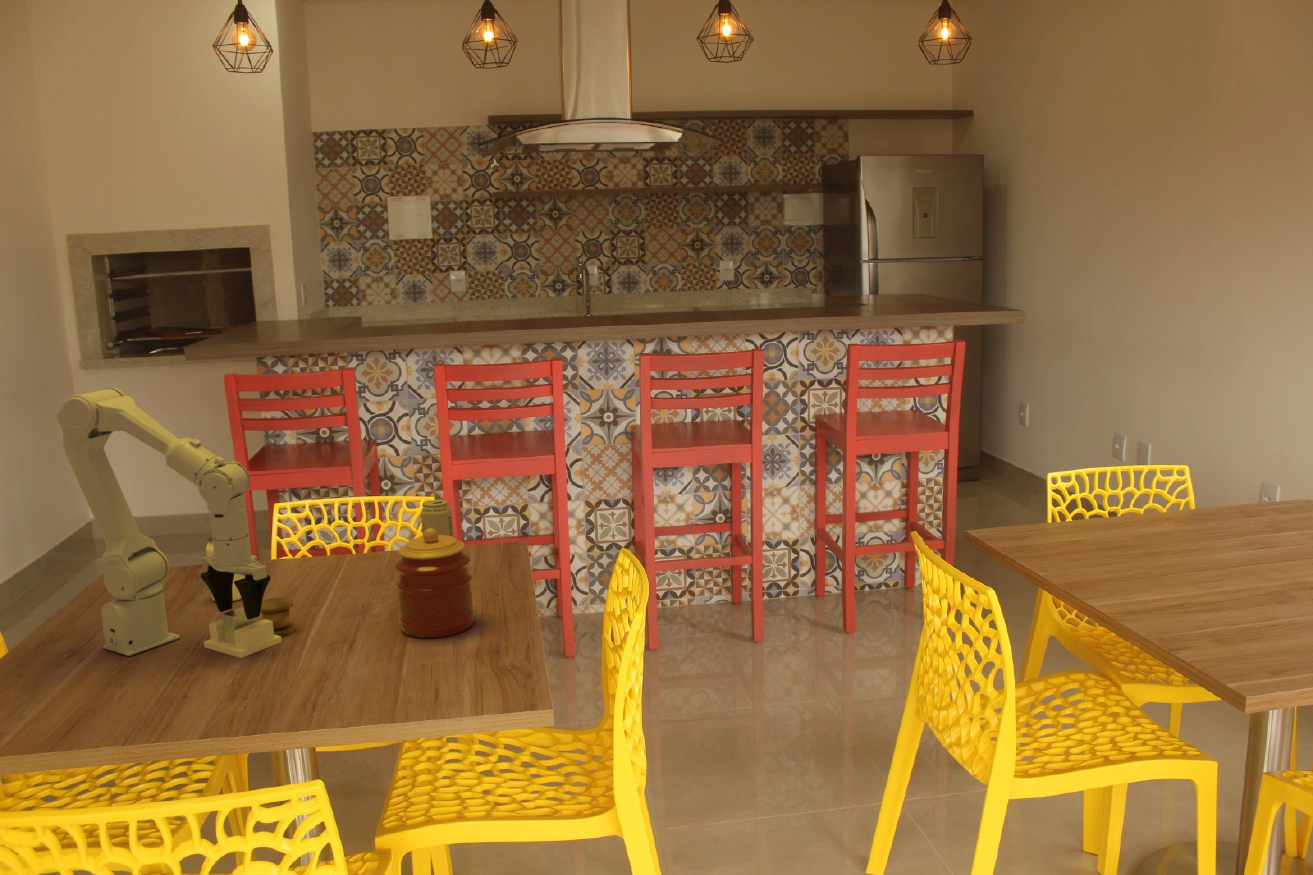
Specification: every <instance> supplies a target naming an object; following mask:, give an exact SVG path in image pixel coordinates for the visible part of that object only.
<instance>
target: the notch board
mask: <svg viewBox="0 0 1313 875" xmlns="http://www.w3.org/2000/svg"><path fill="white" fill-rule="evenodd" d="M208 626H209V637H210V639H208V640H205V641H203V645H204V648H205V649H209V650H212V651H216V652H219V653H222V654H225V655H228V656H229V655H230V656H232V657H236V658H239V659H242V658H245V657H247V656H250V655H252V654H255V653H258V652H260V651H262V650H265V649H268V648H270V647H272V646H275V645H278V644H281V643H282V637H281V636H277V635H274V630H273V621H270V620H266V619H264V620H262V619H261V620H258V622H256V623H254V624H251V625H248V626H245V627H243V628H240V629H237V630H234V632H235V641H236V645H234V644H230V643H227V642H225V634H224V626H223V618H220V619H217V620H216V621H213V622H209V623H208Z"/></svg>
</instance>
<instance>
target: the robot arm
mask: <svg viewBox="0 0 1313 875" xmlns="http://www.w3.org/2000/svg"><path fill="white" fill-rule="evenodd" d="M55 417H56V419H57V421H58V423H59V426H60V428H61V431H62V441H63V443H62V444H63V450H64V453H65V455H66V457H67V460H68V461H69V464H70V466H71V469H72V471H73V473H74V476H75V477H76V479H77V482H78V484H79V486H80V489H81V491H82V494H83V496H84V498H85V500H86V503H87V505H88V508H89V509H90V512H91V514H92V516H93V518H94V521H95V524H97V525H96V526H97V527H98V530H99V532H100V534H101V537H102V539H103V542H104V543H105V545H106V547H105V550H104V552H103V554H102V556H101V558H100V566H101V567H102V571H103V583H104V586H105V588H106V590H107V591H108V593H110V595H111V596H113V598H114V599H112V600H111V601H109V602H106V603H104V605H103V606H102V607H101V613H100V614H101V616H100V617H101V622H102V628H103V636H104V645H102V646H103V649H105V650H109V651H112V652H115V653H118V654H120V655H121V654H122V655H123V656H124V655H125V656H127V657H129V656H134V655H135V654H139V653H141V652H144V651H146V650H147V651H148V650H150V649H153V648H155V647H159V646H161V645H165V644H166V643H170V642H172V641H175V640H178V639H180V638H181V637H180V635H179V634H176V633H172V632H170V631H169V629H168V628H169V626H168V620H167V619H168V618H167V613H166V612H167V610H166V604H165V596H164V590H163V588H164V586H165V582H164V580H166V578H167V577H168V576H169V574H170V573H169V572H170V563H169V560H168V558H167V556H166V555H165V553H164V552H162V551H161V550H160V549H159V547H158V546H157V545H156V542H155V540H154V539H153V538H151V537H149V536H147V535H145V534H143V533H141V531H140V529H139V527H138V525H137V523H136V520H135V518H134V516H133V513H132V511H131V508H130V506H129V503H128V501H127V499H126V496H125V495H124V492H123V490H122V487H121V486H120V484H119V481H118V479H117V477H116V474H115V472H114V469H113V468H112V465H111V463H110V461H109V459H108V456H107V454H106V452H105V447H106V444H107V442H108V440H109V438H110V436H111V435H112V434H113V433H114V432H125V433H127V434H128V435H130V436H132V437H134V439H137V440H138V441H140V442H142V443H143V444H145V445H147V446H149V447H150V448H152V449H154V450H155V451H157V452H159V453H160V454H162V455H163V456H164V457H165V458H164V459H165V463H166V464H165V465H166V466H168V467H169V468H171V469H172V470H173V471H174V472H176V473H177V474H179V475H181V476H182V477H183V478H185V479H186V480H188V481H189V482H191V483H192V484H194V485H196V487H197V490H198V492H199V495H200V496H201V498H202V499H203V500H204V501H205V503H206V505H207V511H209V519H210V528H211V537H212V539H213V548H214V555H209V556H207V555H206V556H203V557H202V563H203V564H202V566H203V569H207V570H206V571H205V572H202V573H200V578H201V579H202V581H203V582H204V583H205V585H206V587H208V589H209V591H210V594H211V593H212V595H213V597H214V600H215V601H214V600H213V601H214V603H215V605H216V606H217V609H218V612H219V613H225V612H226V611H227V612H228V611H229V610H230V611H231V610H233V605H234V604H233V596H232V586H233V578H234V574H240V575H244V576H245V578H243V579H240V580H237V581H234V584H235V586H236V587H237V589H238V591H239V593H240V595H241V598H242V599H241V601H242V605H243V606H242V607H244V611H245V615H246V618H247V619H249V620H251V619H253V618H256V617H257V618H258V617H260V616H261V612H260V611H261V605H262V601H264V600H263V599H264V595H265V591H266V589H267V587H268V585H269V582H270V581H271V575H270V574H267V566H266V565H264V564H261V563H259V562H258V555H257V556H256V555H253V554H252V548H251V542H250V532H249V531H250V530H249V522H248V520H249V519H248V512H247V503H246V502H247V501H246V494H245V493H246V492H247V491H248V490H249V487H250V485H251V476H250V474H249V472H248V470H247V469H246V468H245V467H244V466H243V465H242V463H240V462H238V461H225V459H224V458H223V457H222V456H218V455H217V454H214V453H213V452H211V451H210V450H209V449H207V448H205V447H204V446H202V441H200V440H199V439H197V438H190V437H185V438H184V437H183V438H178V437H177V436H176V435H174V434H173V433H171V432H170V430H168V429H167V428H166V427H164V426H163V425H162V424H161V423H159V422H157V420H155V419H154V418H152V417H151V416H150V415H148V413H146V412H145V411H144V410H143V409H141V408H140V407H138V405H137V404H136V402H135V400H134V398H133V397H131V396H128V395H126V394H125V393H124V391H121V389H118V388H115V387H106V388H102V389H100V390H95V391H90V392H87V393H80V394H72V395H69V396H67V397H66V398H65V399H64V400H63V401H62V403H61V405H60V407H59V409H58V411H57V413H56V416H55Z"/></svg>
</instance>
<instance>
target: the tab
mask: <svg viewBox="0 0 1313 875" xmlns="http://www.w3.org/2000/svg"><path fill="white" fill-rule="evenodd" d="M221 615H222V619H223V626H224V634H225V642H227V643H230V644H234V645H236V641H235V632H234V630H237V629H240V628H243V627H245V626H248V625H251V624H254V623H256V622H259V620H258V617H256V618H253V619H251V620H249V619H247V618H246V615H245V611H244V606H241V607H238V608H236V609H231V610H230V611H229V610H228V611H227V612H226V611H225V612H222V614H221Z"/></svg>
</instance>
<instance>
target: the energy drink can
mask: <svg viewBox="0 0 1313 875" xmlns="http://www.w3.org/2000/svg"><path fill="white" fill-rule="evenodd" d="M448 502H449V501H447V500H445V499H433V500H427V501H425V502H423V503H422V504H423V506H422V509H421V511H420V518H421V529H422V530H421V531H422V535H423V534H424V531H425V530H426V529H429V528H433V529H435V530H436V531H437V532H438V535H447V536H452V537H454V530H453V529H454V528H453V526H454V525H453V515H452V508H451V506H450V505H449V504H448Z"/></svg>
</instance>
